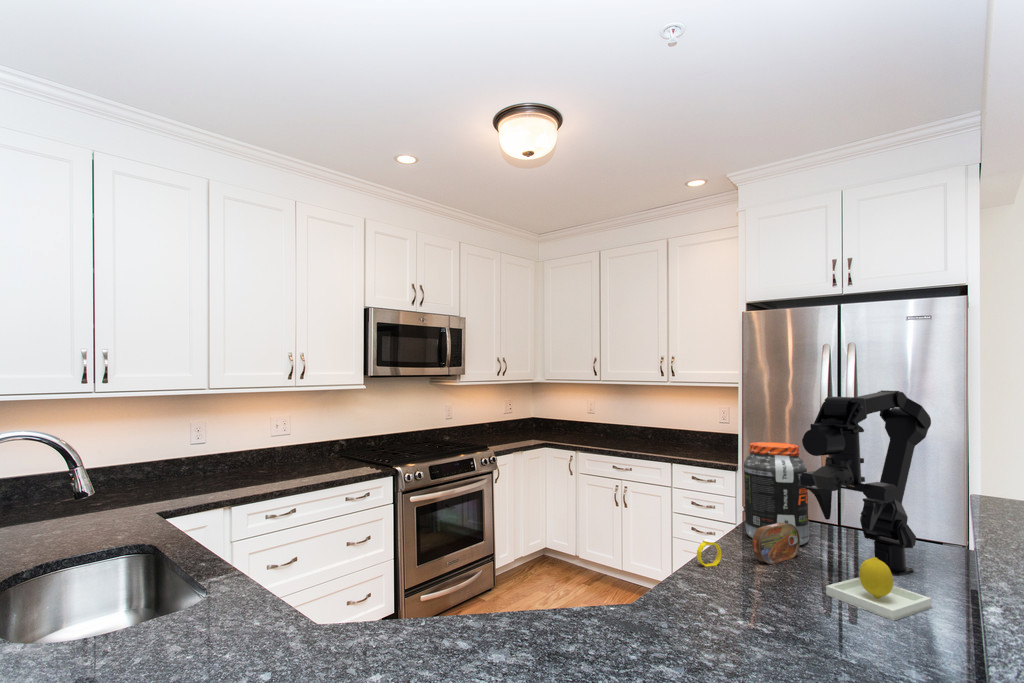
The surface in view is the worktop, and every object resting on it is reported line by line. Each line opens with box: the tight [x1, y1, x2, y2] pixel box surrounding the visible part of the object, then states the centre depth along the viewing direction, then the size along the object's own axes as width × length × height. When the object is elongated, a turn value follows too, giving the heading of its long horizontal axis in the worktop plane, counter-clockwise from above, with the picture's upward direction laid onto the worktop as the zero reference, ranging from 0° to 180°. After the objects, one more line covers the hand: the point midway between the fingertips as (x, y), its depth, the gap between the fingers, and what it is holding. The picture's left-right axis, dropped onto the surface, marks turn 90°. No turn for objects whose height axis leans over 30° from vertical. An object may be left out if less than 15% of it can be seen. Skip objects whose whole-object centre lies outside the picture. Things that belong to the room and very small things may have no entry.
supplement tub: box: [743, 441, 810, 546], centre depth 144 cm, size 16×16×26 cm
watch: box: [696, 538, 723, 568], centre depth 123 cm, size 6×3×6 cm, turn 105°
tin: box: [751, 523, 801, 565], centre depth 127 cm, size 15×3×8 cm, turn 117°
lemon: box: [858, 556, 894, 599], centre depth 103 cm, size 6×6×8 cm
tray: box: [825, 576, 933, 622], centre depth 103 cm, size 13×13×2 cm
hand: (847, 524), depth 115 cm, fingers open, 9 cm apart
